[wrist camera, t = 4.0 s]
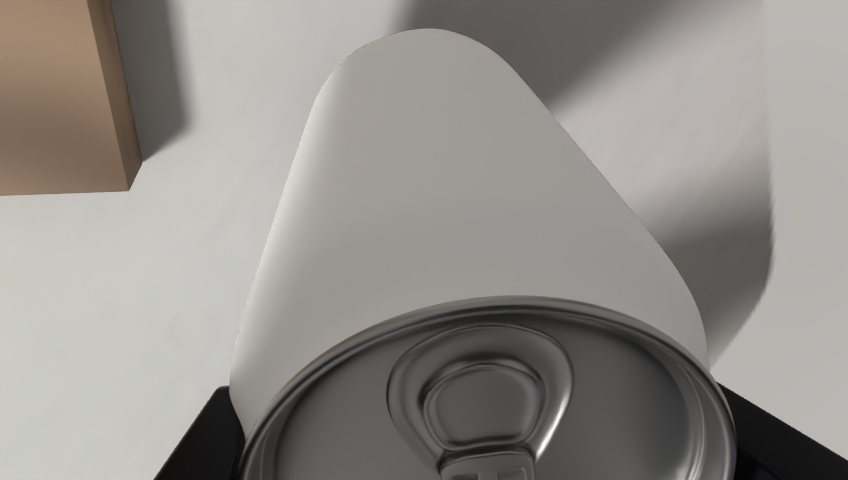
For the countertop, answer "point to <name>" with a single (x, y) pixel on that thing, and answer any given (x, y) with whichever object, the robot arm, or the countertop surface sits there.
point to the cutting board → (63, 100)
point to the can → (464, 295)
